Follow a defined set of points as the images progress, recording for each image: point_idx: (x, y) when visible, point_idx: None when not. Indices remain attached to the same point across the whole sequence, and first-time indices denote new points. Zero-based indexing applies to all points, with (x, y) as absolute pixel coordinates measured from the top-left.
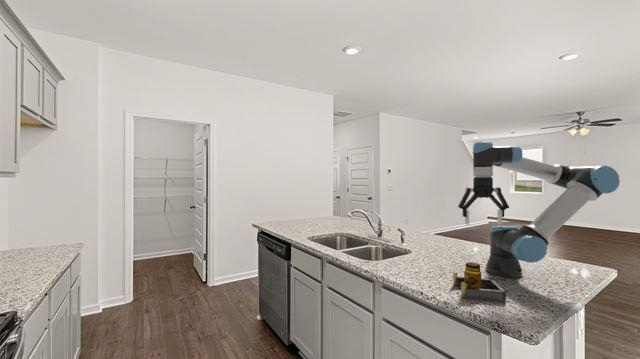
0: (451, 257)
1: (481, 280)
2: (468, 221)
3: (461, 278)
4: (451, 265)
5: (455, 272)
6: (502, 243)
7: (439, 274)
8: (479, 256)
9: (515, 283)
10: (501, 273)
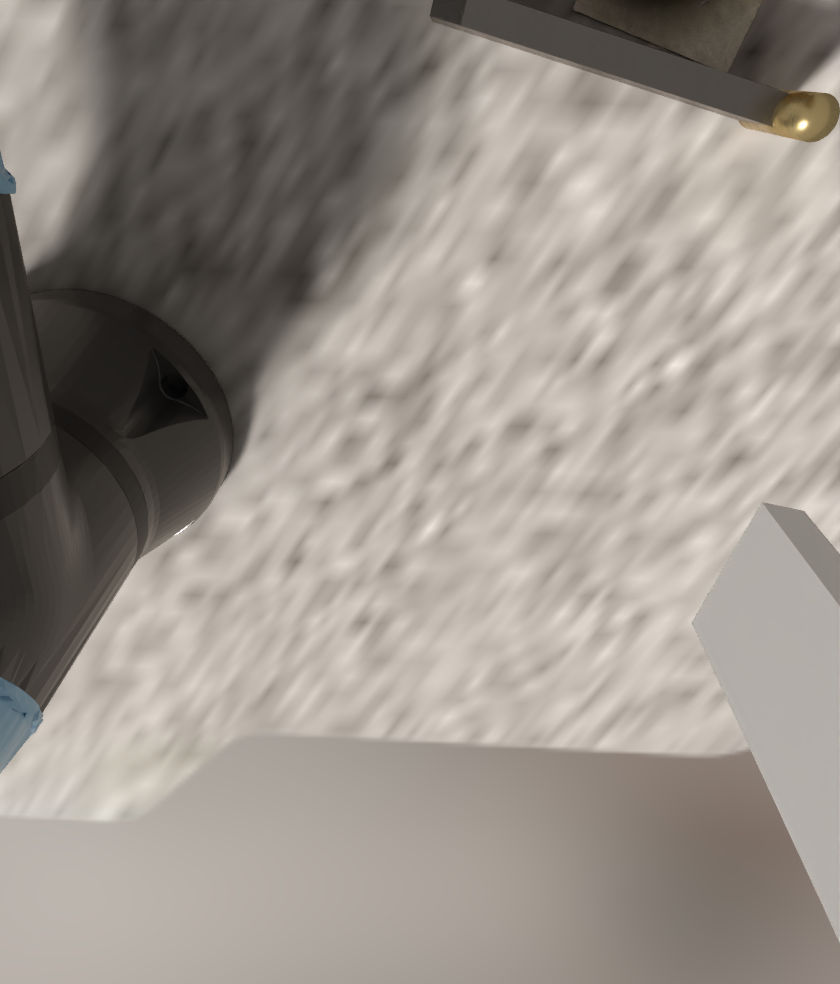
0: (345, 725)
1: (553, 16)
2: (813, 556)
3: (743, 79)
4: (448, 584)
5: (818, 111)
6: (27, 420)
7: (686, 405)
8: (123, 730)
9: (126, 157)
10: (161, 335)
